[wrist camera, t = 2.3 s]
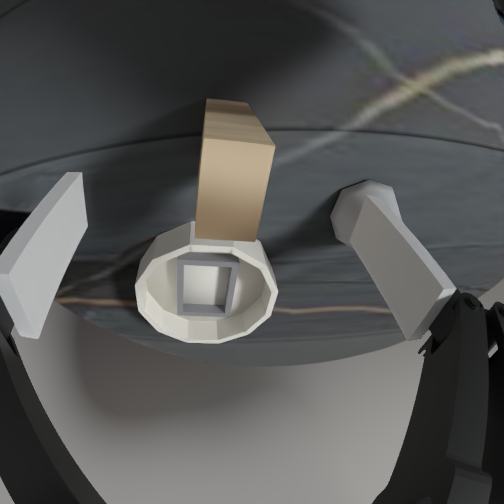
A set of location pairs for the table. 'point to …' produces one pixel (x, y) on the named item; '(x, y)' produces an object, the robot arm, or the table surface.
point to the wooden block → (231, 172)
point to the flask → (358, 206)
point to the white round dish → (204, 286)
